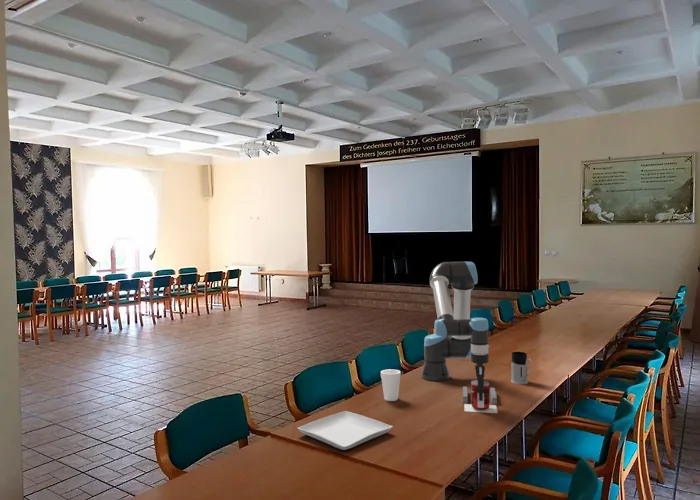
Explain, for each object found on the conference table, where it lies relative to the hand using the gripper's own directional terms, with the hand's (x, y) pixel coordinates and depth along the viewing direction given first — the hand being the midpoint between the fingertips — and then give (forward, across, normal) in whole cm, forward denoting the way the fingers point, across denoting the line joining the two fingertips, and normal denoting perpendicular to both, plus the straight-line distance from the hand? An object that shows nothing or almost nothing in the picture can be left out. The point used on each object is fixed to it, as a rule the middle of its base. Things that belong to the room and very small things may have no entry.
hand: (480, 404), depth 232 cm
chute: (+2, +9, 0) cm, 10 cm away
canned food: (+1, 0, 0) cm, 1 cm away
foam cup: (+2, +8, +41) cm, 42 cm away
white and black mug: (+2, +44, -23) cm, 50 cm away
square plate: (+3, -39, +53) cm, 66 cm away
